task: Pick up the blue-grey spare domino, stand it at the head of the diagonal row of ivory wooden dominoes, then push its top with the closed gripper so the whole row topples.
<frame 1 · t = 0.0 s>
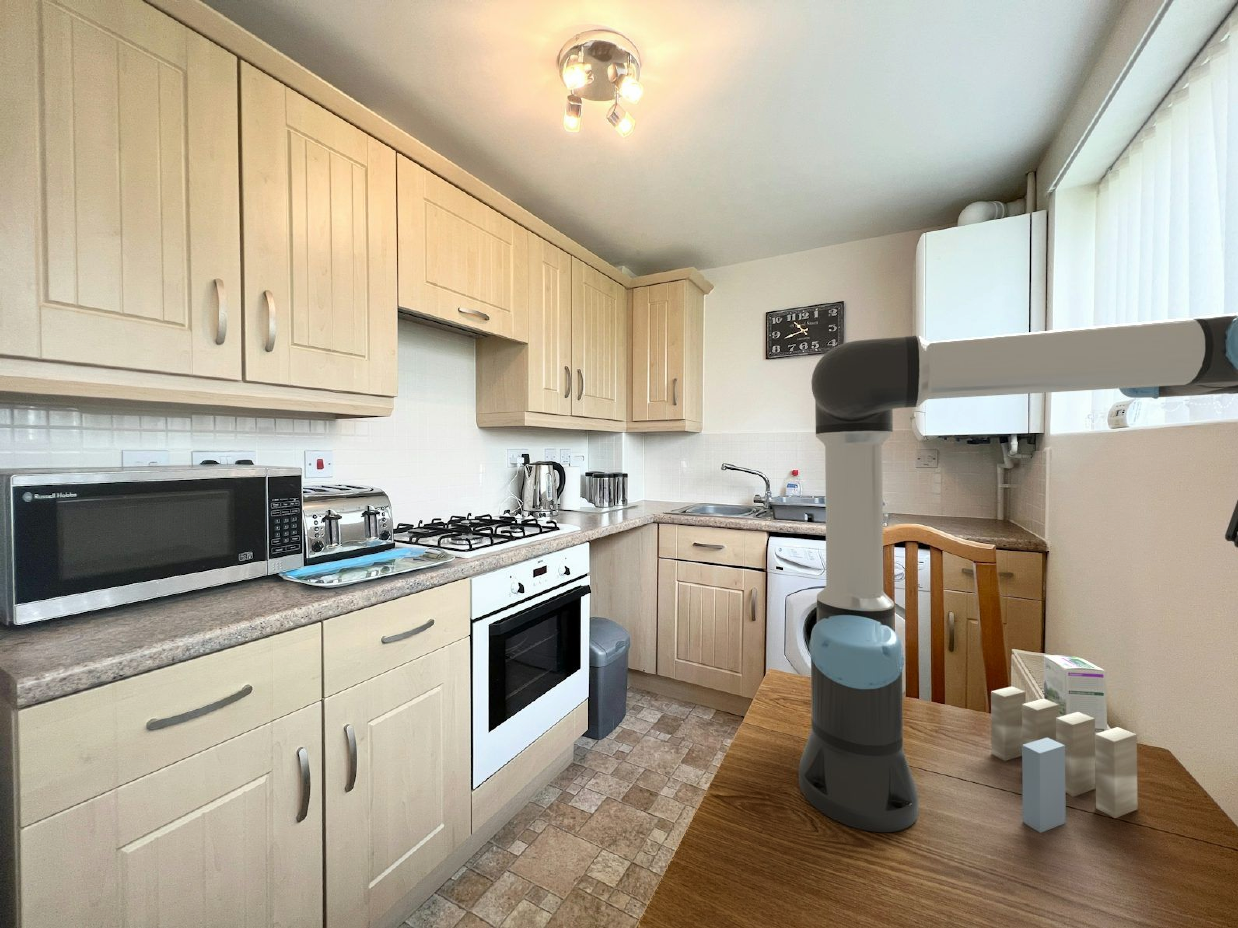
syrup box: (1074, 752, 80), on the table
domino 5: (1116, 808, 67), on the table
domino 3: (1041, 770, 75), on the table
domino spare: (1044, 822, 64), on the table
domino 2: (1008, 753, 79), on the table
domino 4: (1076, 787, 71), on the table
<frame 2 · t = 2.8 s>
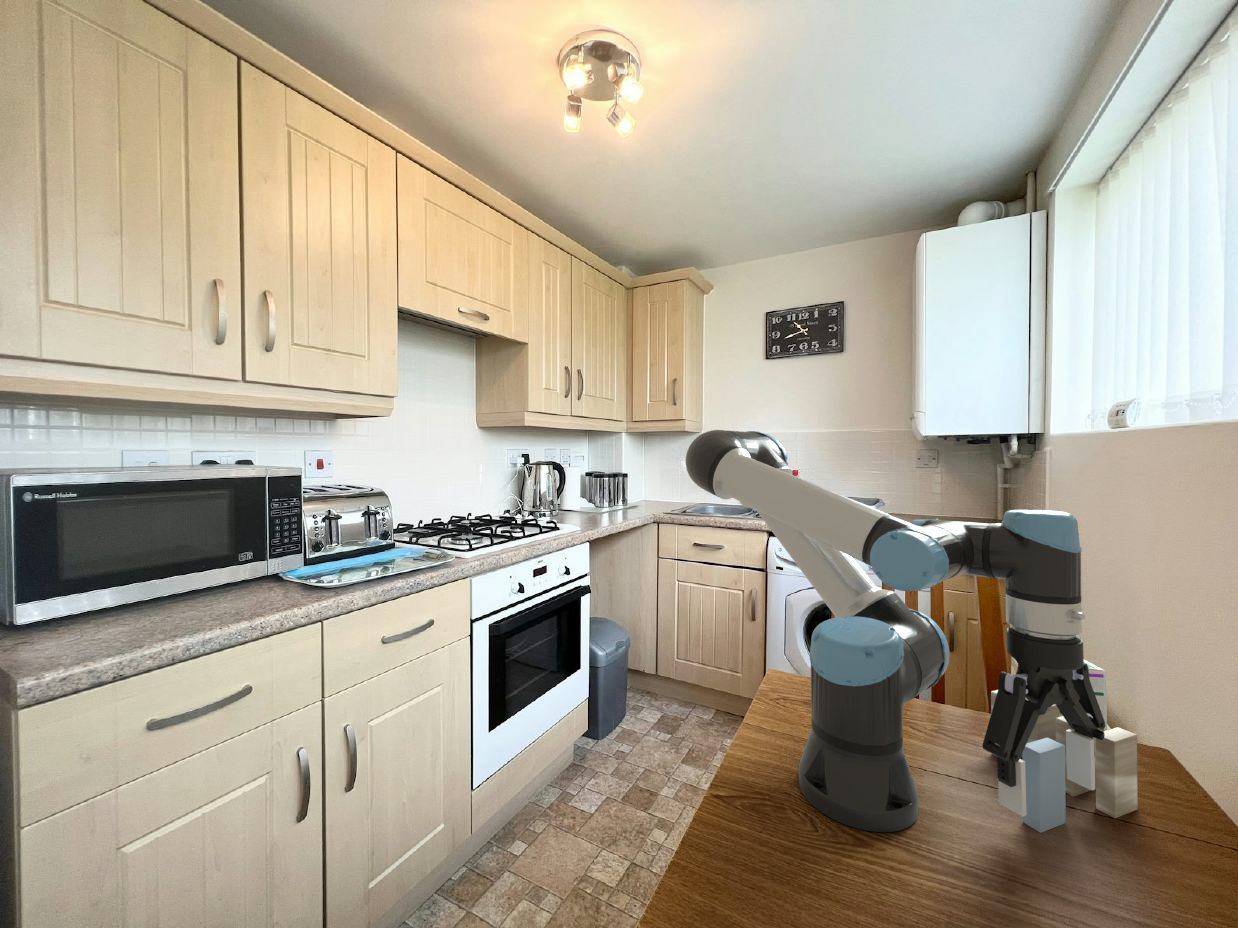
hand: (1047, 796, 64), 4 cm above the table, fingers open, 13 cm apart
domino 5: (1116, 808, 67), on the table, touching gripper
everything else where it was.
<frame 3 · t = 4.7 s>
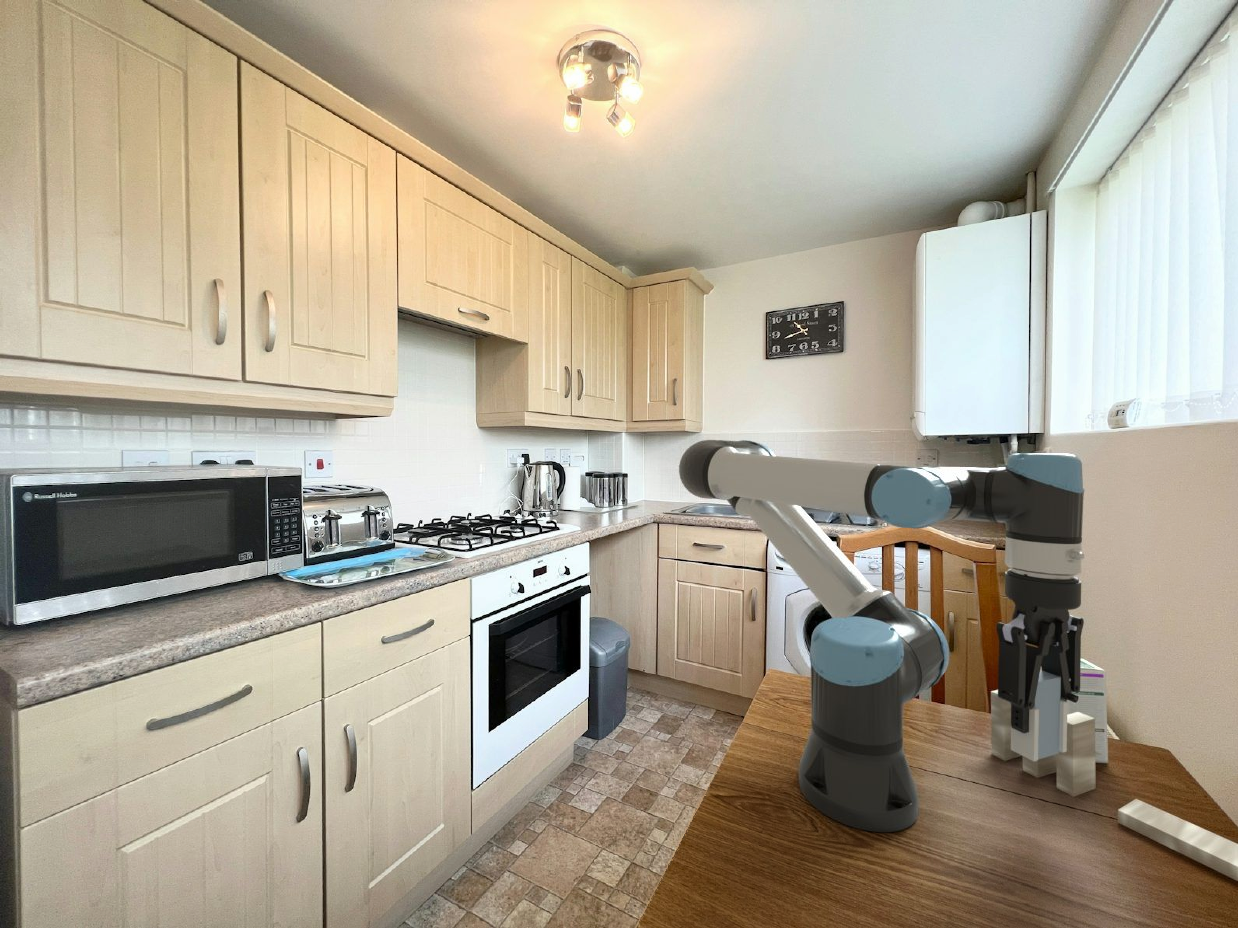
hand: (1038, 750, 64), 9 cm above the table, fingers closed on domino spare, 5 cm apart
domino 5: (1127, 811, 65), point 1 cm above the table, tilted 90°
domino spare: (1037, 752, 65), point 9 cm above the table, touching gripper
everything else where it was.
when the fingers open (1 cm above the table, at t = 9.1 s): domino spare stays where it is, on the table.
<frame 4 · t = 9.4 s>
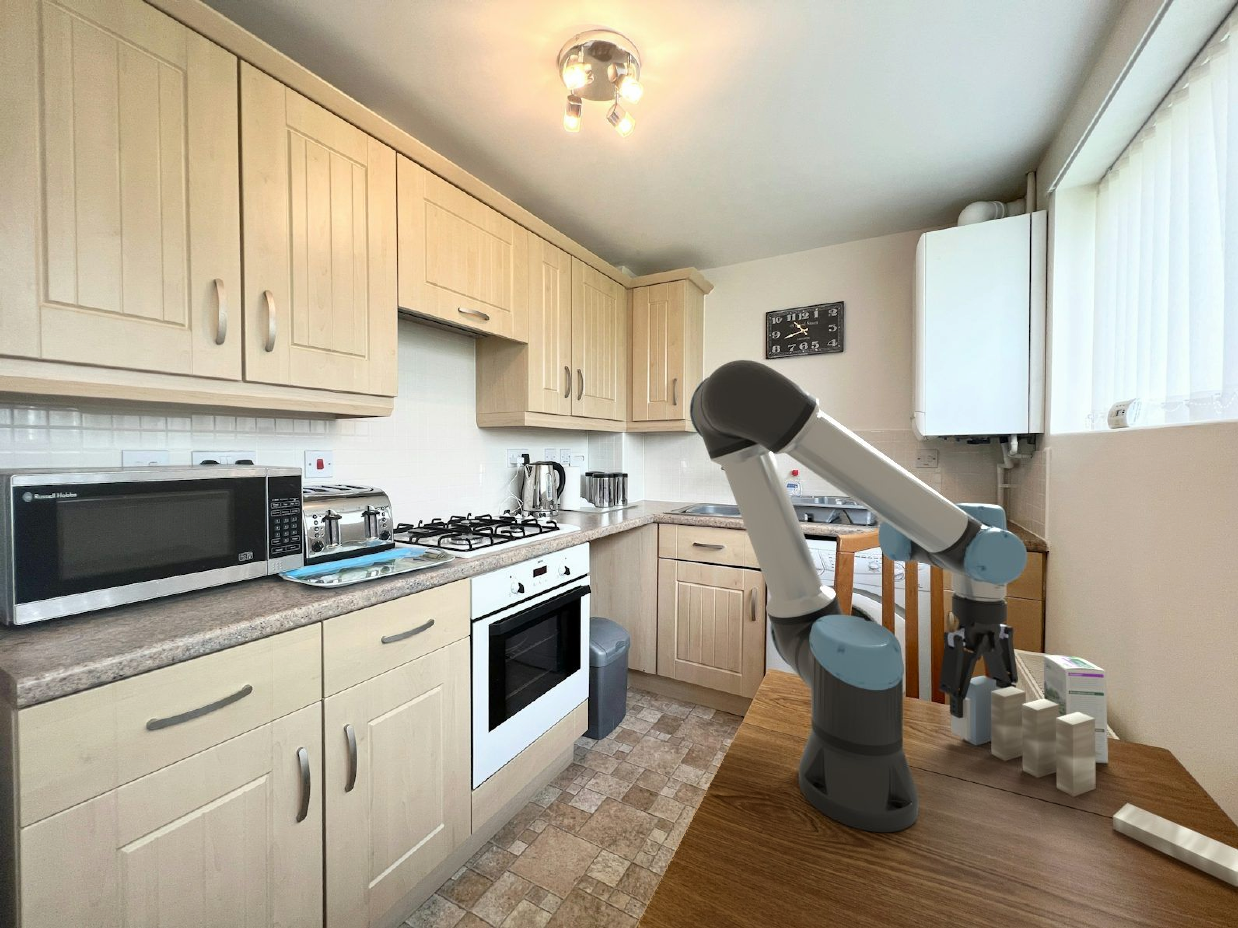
hand: (979, 729, 83), 2 cm above the table, fingers open, 8 cm apart
domino 5: (1120, 817, 64), point 1 cm above the table, tilted 90°
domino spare: (979, 739, 83), on the table
everything else where it was.
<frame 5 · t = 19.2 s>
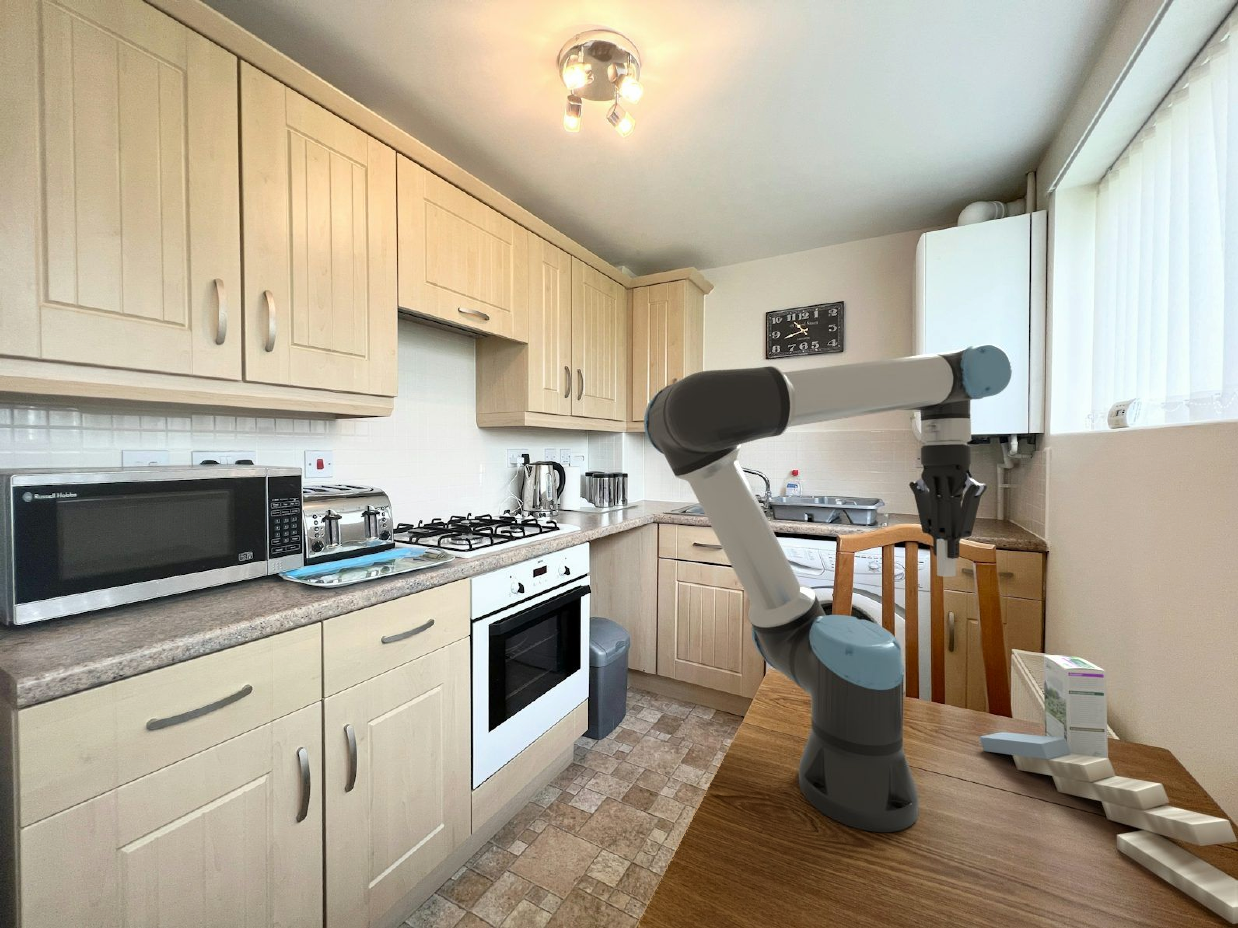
hand: (946, 575, 89), 26 cm above the table, fingers closed
domino 5: (1133, 840, 60), point 1 cm above the table, tilted 90°
domino 3: (1067, 780, 71), point 1 cm above the table, tilted 69°, touching domino 2, domino 4
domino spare: (992, 741, 81), point 1 cm above the table, tilted 67°, touching domino 2
domino 2: (1026, 759, 76), point 1 cm above the table, tilted 68°, touching domino 3, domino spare
domino 4: (1120, 808, 65), point 1 cm above the table, tilted 69°, touching domino 3
everything else where it was.
at the end: domino 5 tilted 90°; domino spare tilted 68°; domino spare inside the target area (2.5 cm from its centre), point 0.9 cm above the table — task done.
